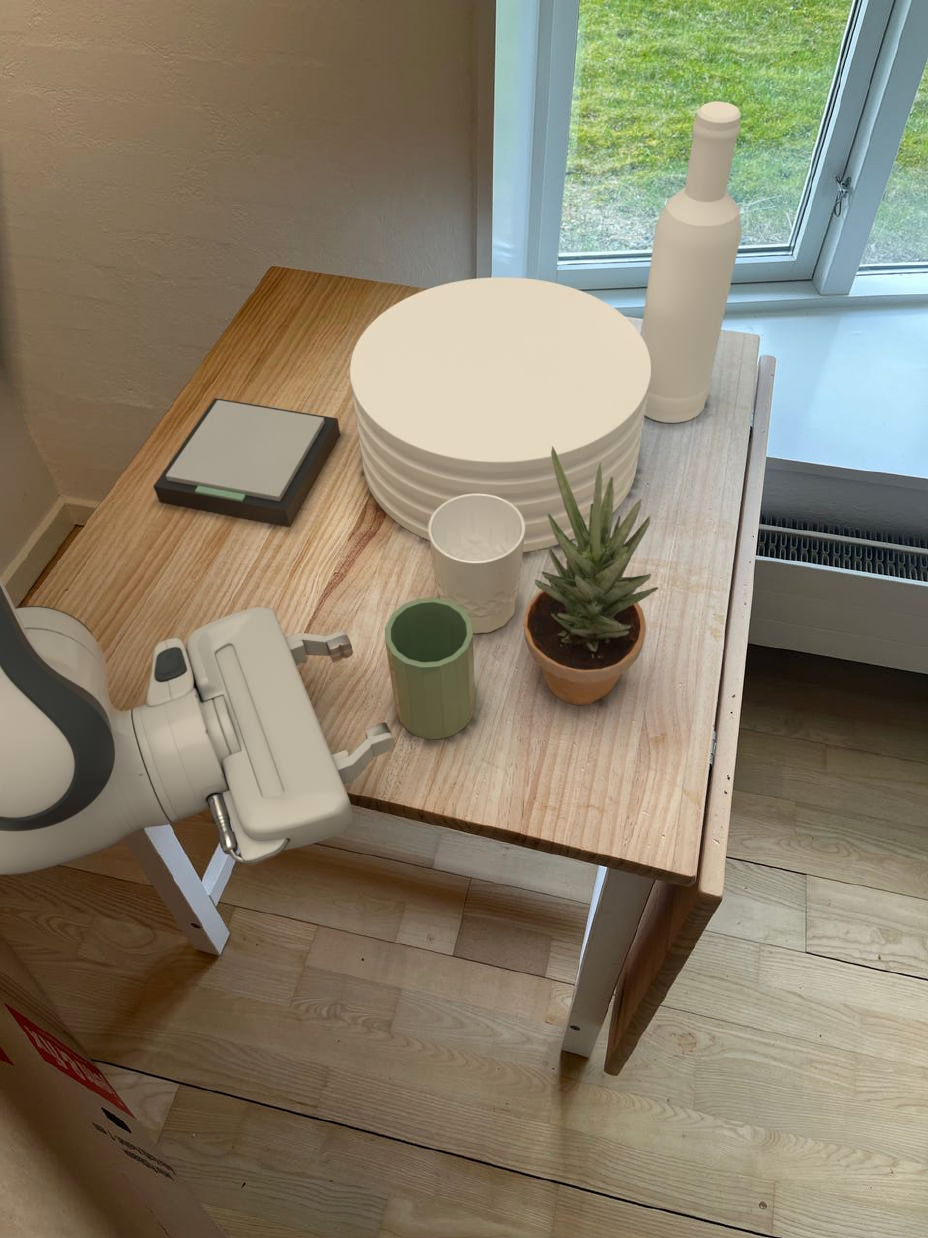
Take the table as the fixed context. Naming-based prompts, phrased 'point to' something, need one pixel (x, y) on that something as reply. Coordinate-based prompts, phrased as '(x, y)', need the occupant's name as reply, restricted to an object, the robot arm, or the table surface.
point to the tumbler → (431, 667)
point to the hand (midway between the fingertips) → (369, 686)
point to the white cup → (478, 557)
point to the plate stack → (499, 400)
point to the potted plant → (588, 601)
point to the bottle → (692, 271)
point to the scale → (249, 461)
